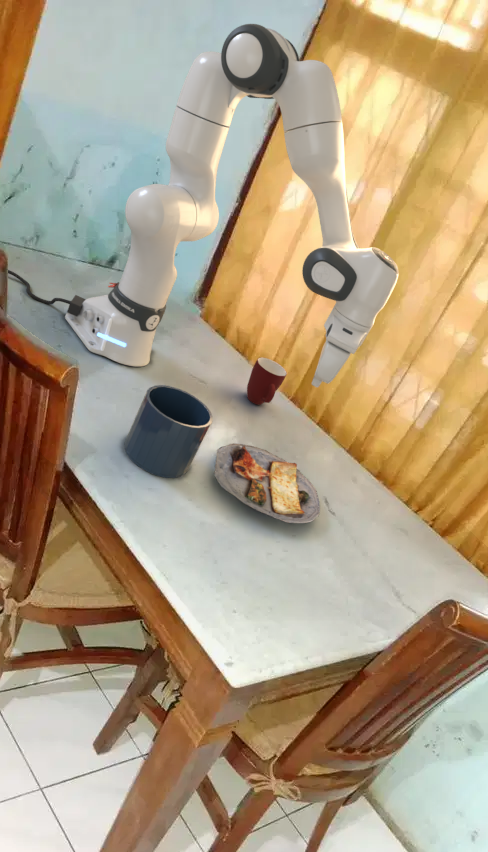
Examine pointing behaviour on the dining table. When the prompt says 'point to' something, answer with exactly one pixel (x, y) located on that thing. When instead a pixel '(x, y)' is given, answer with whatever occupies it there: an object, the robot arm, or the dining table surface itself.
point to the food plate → (266, 483)
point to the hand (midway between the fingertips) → (315, 384)
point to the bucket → (167, 431)
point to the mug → (264, 381)
